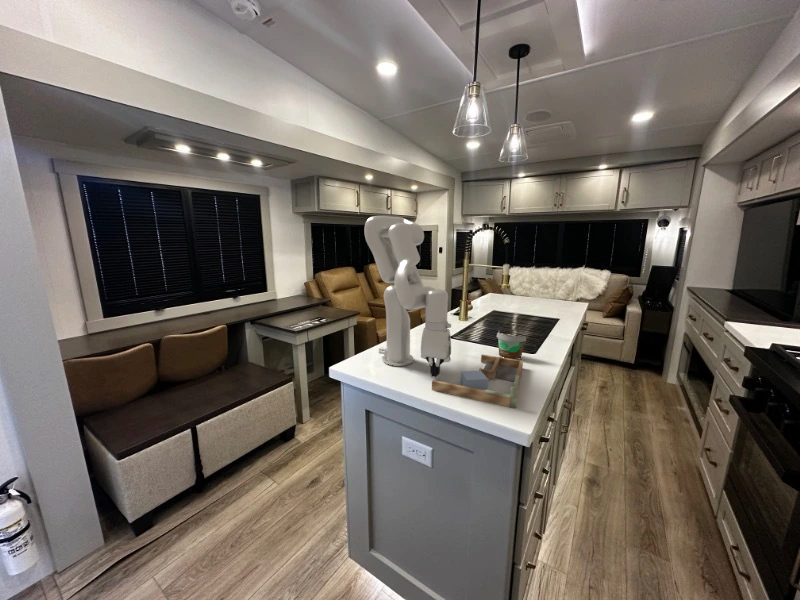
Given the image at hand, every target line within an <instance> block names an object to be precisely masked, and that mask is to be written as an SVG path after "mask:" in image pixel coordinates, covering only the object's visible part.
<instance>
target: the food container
mask: <svg viewBox="0 0 800 600" xmlns="http://www.w3.org/2000/svg"><path fill="white" fill-rule="evenodd" d="M496 338H497V339H498V355H499V357H502V358H503V357H504V358H509V359H515V360H520V359H522V355H523V352H524V345H525V342H526V341H527V337H526V335H523V336H518V335H516V334H512V333H503V332H501V331H500V330H498V332H497V333H496ZM519 358H520V359H519Z"/></svg>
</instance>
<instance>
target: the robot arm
mask: <svg viewBox="0 0 800 600" xmlns="http://www.w3.org/2000/svg"><path fill="white" fill-rule="evenodd" d="M363 230H364V237H365V238H364V239H365V242H366V243H367V246H368V247H369V249H370V251H371V253H372V255H373V258H374V262H375V264H376V268H377V269H378V272H379V275H380V279H381V280H382V281H383V282H384V283H386V284H391V285H389V286H387V287H386V288H385V290H384V292H383V301H384V307H385V318H386V320H385V321H386V323H385V324H386V347H381V346H380V347H379V348H378V354H380V355H383V356H382V361H383V363H384V364H385V365H388V364H389V366H392V365H393V366H392V367H404V366H408V365H411V364H412V363H414V359H415V358H414V356H413V355H411V318H410V314H409V313H408V311H411V310H416V309H417V310H418V309H423V308H425V313H424V314H425V318H424V320H425V321H424V323H425V324H424V325H425V327H424V328H423V329H422V335H421V340H420V358H422V359H424V360H426V361H427V362H428V364H429V366H430V371H429V372H430V375H431V377H432V378H433V377H434V378H437V376H438V375H440V373H441V365H443V363H450V362H451V355H452V339H451V331H450V328H452V323H449V321H448V307H449V306H448V302H449V293H448V292H447V291H446V290H444V289H436V288H434V287H431V286H424V284H423V281H422V279H421V278H422V277H421V276H420V274H419V271H418V268H417V266H416V265H418V263H420V260H421V255H420V253H419V251H418V248H417V246H420V245H421V244H422V243H423V242H424V239H425V233H424V232H425V231H424V230H423V228H422V226H421V225H419V224H418V223H416V222H414V221H412V220H409V219H407V218H404V217H401V216H389V215H374V216H373V215H372V216H370V217H369V218H368V219H367V220H366V221H365V224H364V229H363ZM385 238H388V239H389V242H388V241H387V240H386V239H385Z"/></svg>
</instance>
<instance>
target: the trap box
mask: <svg viewBox="0 0 800 600" xmlns="http://www.w3.org/2000/svg"><path fill="white" fill-rule="evenodd" d="M480 362H481V363H484V364H485V365H484V367H483V368H481V367H480V368H479V369H478V371H479V370H481V371H482V373H483V374H484V375H485V376H486V377H487V379H488V380H492V381H494V380H495V379H497V380H502V381H508V382H514V383H513V385H511V386H510V388H509V389H510V390H509V393H506V392H500V391H496V390H490V389H488V388H487V389H486V390H481V389H476V388H471V387H466V386H463V385H462V384H461V385H460V384H454V383H450V382H446V381H440V380H435V379H432V380H431V391H436V392H439V391H440V393H444V392H445V394H448V393H449V394H450V395H453V396H459V397H463V398H467V399H472V400H477V401H482V402H487V403H491V404H495V405H500V406H505V407H509V408H510V409H516V408H517V403H518V401H517V399H518V393H519V387H520V383H521V377H522V372H523V366H524V360H520V359H509V358H503V357H501V356H494V355H488V354H481V356H480Z"/></svg>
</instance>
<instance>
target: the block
mask: <svg viewBox="0 0 800 600" xmlns="http://www.w3.org/2000/svg"><path fill="white" fill-rule="evenodd" d="M460 383H461V385H462V386H466V387H471V388H476V389H481V390H486V389H487V390H488V386H489V379H487V377H486V376H485V375H484V374H483V373H482V371H481V370H479V369H478V370H461V372H460Z"/></svg>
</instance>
